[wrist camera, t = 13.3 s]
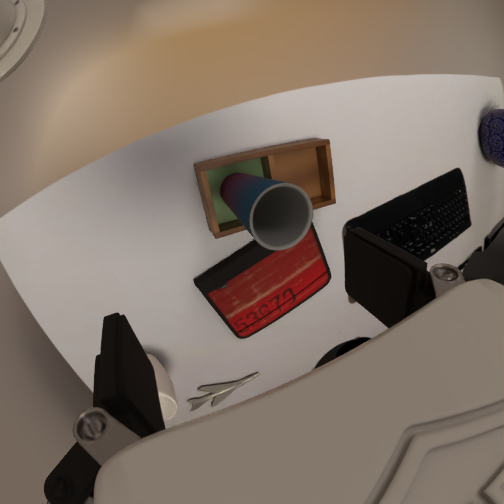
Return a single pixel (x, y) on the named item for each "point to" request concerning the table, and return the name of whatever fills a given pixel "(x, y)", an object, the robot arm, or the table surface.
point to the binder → (264, 283)
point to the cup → (268, 209)
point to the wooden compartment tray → (267, 166)
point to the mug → (164, 389)
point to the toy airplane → (219, 392)
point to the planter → (493, 136)
